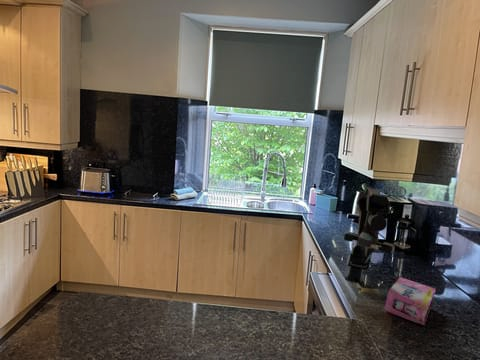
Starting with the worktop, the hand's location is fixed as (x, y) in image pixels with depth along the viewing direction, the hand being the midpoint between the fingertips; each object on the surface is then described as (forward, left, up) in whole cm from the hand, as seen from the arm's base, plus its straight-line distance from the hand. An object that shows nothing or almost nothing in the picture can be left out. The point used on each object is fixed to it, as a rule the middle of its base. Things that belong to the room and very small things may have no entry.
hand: (364, 262), depth 146 cm
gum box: (-2, +12, -8) cm, 15 cm away
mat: (0, +18, -13) cm, 23 cm away
